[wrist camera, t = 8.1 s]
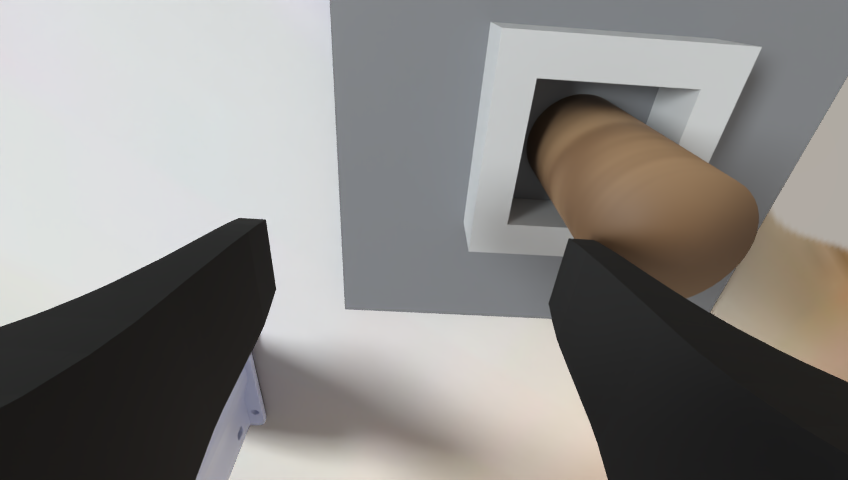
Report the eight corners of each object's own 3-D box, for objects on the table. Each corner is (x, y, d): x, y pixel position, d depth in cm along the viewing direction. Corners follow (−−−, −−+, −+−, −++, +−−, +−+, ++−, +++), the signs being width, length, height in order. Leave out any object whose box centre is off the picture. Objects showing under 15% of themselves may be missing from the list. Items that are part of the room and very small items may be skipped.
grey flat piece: (691, 313, 24) (730, 360, 21) (347, 297, 23) (337, 343, 20) (949, -151, 13) (1104, -192, 10) (325, -211, 12) (295, -274, 9)
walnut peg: (606, 188, 18) (715, 307, 12) (518, 183, 18) (576, 301, 11) (636, 97, 16) (791, 177, 9) (537, 90, 16) (623, 167, 9)
